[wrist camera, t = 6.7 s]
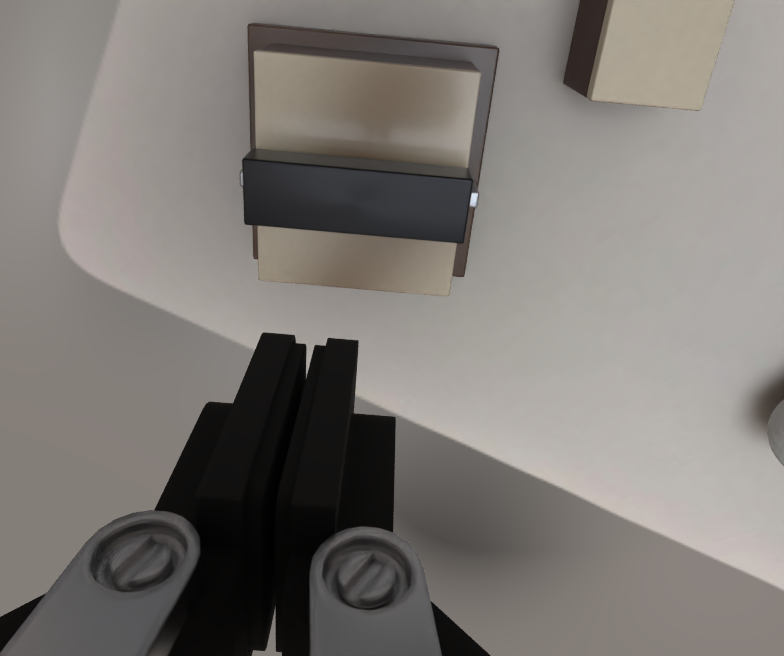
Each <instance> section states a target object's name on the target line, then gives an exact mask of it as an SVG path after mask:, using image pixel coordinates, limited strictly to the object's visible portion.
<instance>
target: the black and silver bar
mask: <svg viewBox="0 0 784 656" xmlns="http://www.w3.org/2000/svg"><path fill="white" fill-rule="evenodd" d="M242 168H243V169H242V170H241V171H240V186H242V187H243V199H244V223H245V224H246V225H256V226H267V227H279V228H290V229H301V230H313V231H324V232H335V233H346V234H358V235H369V236H380V237H392V238H403V239H414V240H426V241H437V242H448V243H459V244H463V243H464V241H465V234H466V227H467V221H468V214H469V208H470V207H477V205H478V199H479V192H478V189H477V186H476V183H475V180H474V177H473V175H472V172H471V169H470V167H469V166H468V168H462V167H451V166H440V165H429V164H418V163H407V162H396V161H385V160H374V159H363V158H352V157H341V156H330V155H320V154H309V153H298V152H287V151H276V150H265V149H252V150H251V151H250V152H249V153H248V154H247V155H246V156H245V157H244V158H243V160H242Z"/></svg>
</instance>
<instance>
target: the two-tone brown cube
mask: <svg viewBox="0 0 784 656" xmlns="http://www.w3.org/2000/svg"><path fill="white" fill-rule="evenodd" d="M734 1H735V0H580V4H579V9H578V14H577V19H576V24H575V29H574V33H573V38H572V43H571V48H570V53H569V58H568V63H567V67H566V72H565V77H564V82H563V83H564V84H565V85H567V86H569V87H570V88H572V89H573V90H575V91H577V92H578V93H580V94H582V95H583V96H585V97H586V98H588V99H590V100H591V101H599V102H610V103H620V104H631V105H642V106H652V107H663V108H674V109H684V110H695V111H699V110H701V107H702V104H703V100H704V97H705V94H706V91H707V88H708V84H709V81H710V78H711V75H712V72H713V68H714V65H715V62H716V59H717V56H718V52H719V49H720V46H721V43H722V40H723V36H724V33H725V30H726V27H727V24H728V20H729V17H730V14H731V11H732V8H733V4H734Z"/></svg>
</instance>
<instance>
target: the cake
mask: <svg viewBox="0 0 784 656" xmlns="http://www.w3.org/2000/svg"><path fill="white" fill-rule="evenodd" d="M498 55H499V48H497V47H496V46H491V45H481V44H471V43H460V42H450V41H439V40H429V39H418V38H408V37H397V36H387V35H376V34H366V33H356V32H345V31H335V30H324V29H314V28H303V27H293V26H282V25H272V24H261V23H251V24H248V62H249V102H250V142H251V150H252V149H265V150H276V151H287V152H298V153H309V154H320V155H330V156H341V157H352V158H363V159H374V160H385V161H396V162H407V163H418V164H429V165H440V166H451V167H462V168H468V166H469V167H470V169H471V172H472V175H473V177H474V180H475V183H476V186H477V189H478V184H479V178H480V171H481V165H482V158H483V152H484V145H485V139H486V132H487V126H488V119H489V113H490V107H491V100H492V94H493V87H494V81H495V74H496V68H497V61H498ZM474 210H475V207H470V208H469V214H468V221H467V227H466V234H465V241H464V243H463V244H459V243H448V242H437V241H426V240H414V239H403V238H392V237H380V236H369V235H358V234H346V233H335V232H324V231H313V230H301V229H290V228H279V227H267V226H256V225H253V257H254V259H258V274H259V280H263V281H274V282H286V283H297V284H309V285H320V286H332V287H343V288H355V289H366V290H378V291H390V292H401V293H413V294H424V295H436V296H447V297H448V296H449V294H450V287H451V280H452V276H456V277H464V274H465V268H466V262H467V255H468V249H469V242H470V236H471V229H472V223H473V216H474Z"/></svg>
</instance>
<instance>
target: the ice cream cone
mask: <svg viewBox="0 0 784 656" xmlns="http://www.w3.org/2000/svg"><path fill="white" fill-rule="evenodd" d="M768 439H769V443H770V446H771V449H772V451H773V453H774V455H775V456H776V458H777V459H778V460H779V461H780V463H781V464H782V465H783V466H784V400H782V401H781V402H780V403H779V404H778V405H777V406H776V408H775V409H774V411H773V412H772V414H771V416H770V419H769V423H768Z"/></svg>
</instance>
